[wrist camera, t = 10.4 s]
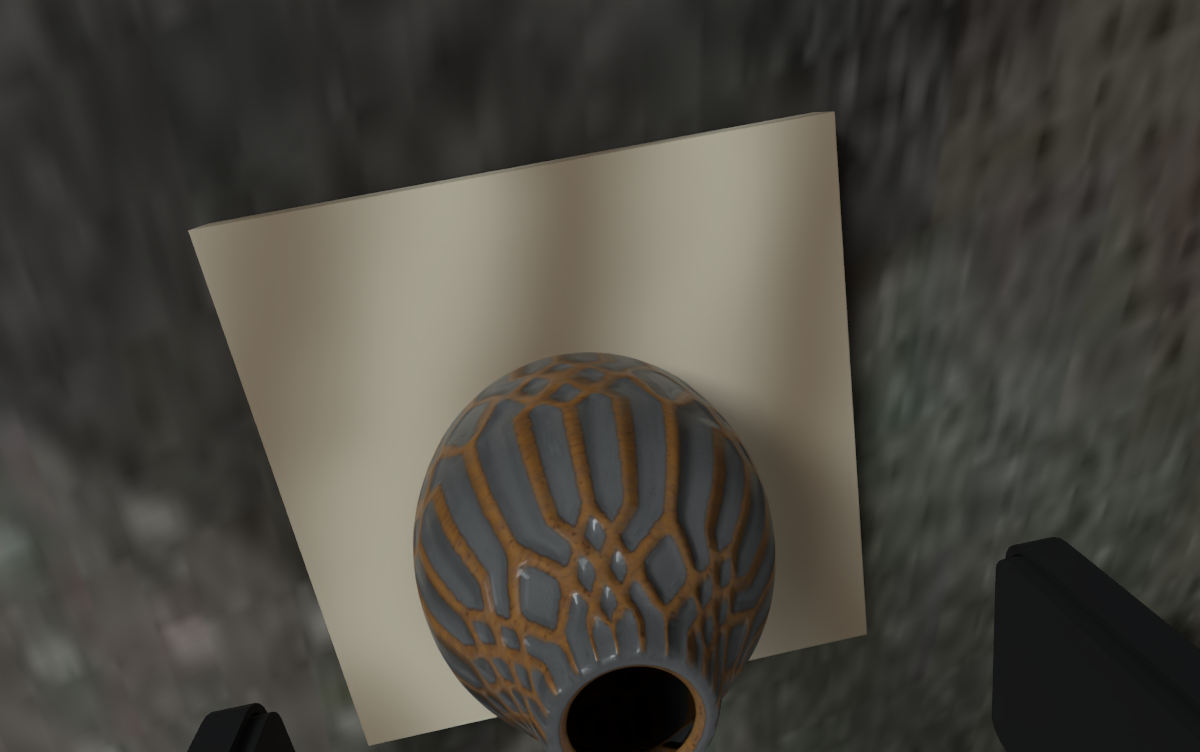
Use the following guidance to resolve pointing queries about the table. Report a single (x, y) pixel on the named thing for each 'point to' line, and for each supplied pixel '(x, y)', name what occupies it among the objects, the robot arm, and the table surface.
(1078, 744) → the robot arm
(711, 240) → the birch pad
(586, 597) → the vase
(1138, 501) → the table surface
